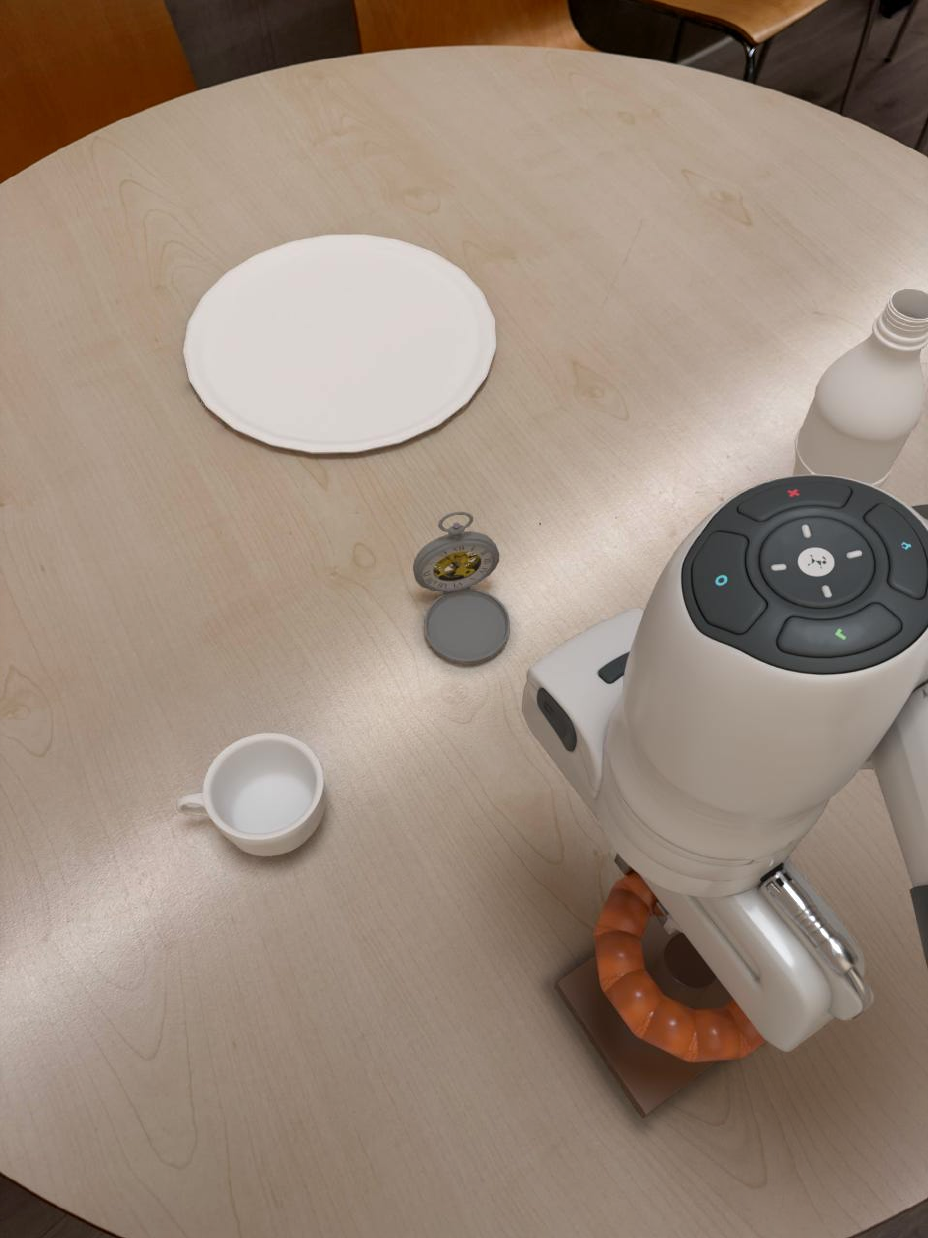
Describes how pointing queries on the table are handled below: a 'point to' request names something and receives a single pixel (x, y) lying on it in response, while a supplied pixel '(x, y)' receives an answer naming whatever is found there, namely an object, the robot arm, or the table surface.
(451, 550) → the pocket watch
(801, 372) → the table surface
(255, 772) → the teacup
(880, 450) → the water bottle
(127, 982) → the table surface
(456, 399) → the plate
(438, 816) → the table surface
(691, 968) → the stand
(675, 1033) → the orange beaded ring
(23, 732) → the table surface
